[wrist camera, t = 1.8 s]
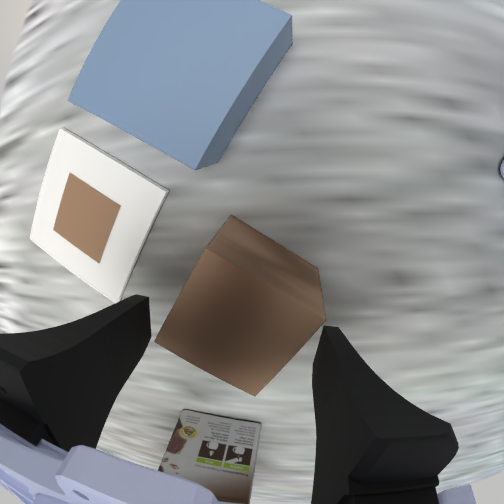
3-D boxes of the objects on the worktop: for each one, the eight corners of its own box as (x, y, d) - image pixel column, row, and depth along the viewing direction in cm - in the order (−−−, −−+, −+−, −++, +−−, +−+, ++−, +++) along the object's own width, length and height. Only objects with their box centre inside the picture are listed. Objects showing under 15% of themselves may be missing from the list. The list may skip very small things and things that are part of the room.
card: (168, 190, 16) (165, 192, 15) (119, 301, 18) (116, 305, 18) (64, 127, 15) (59, 128, 14) (33, 236, 18) (28, 239, 17)
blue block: (292, 45, 12) (291, 15, 9) (218, 162, 15) (194, 170, 11) (175, -4, 12) (144, -34, 8) (112, 104, 14) (67, 100, 11)
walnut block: (317, 267, 16) (325, 319, 11) (265, 335, 18) (254, 396, 13) (231, 214, 16) (205, 248, 11) (187, 290, 18) (154, 341, 13)
